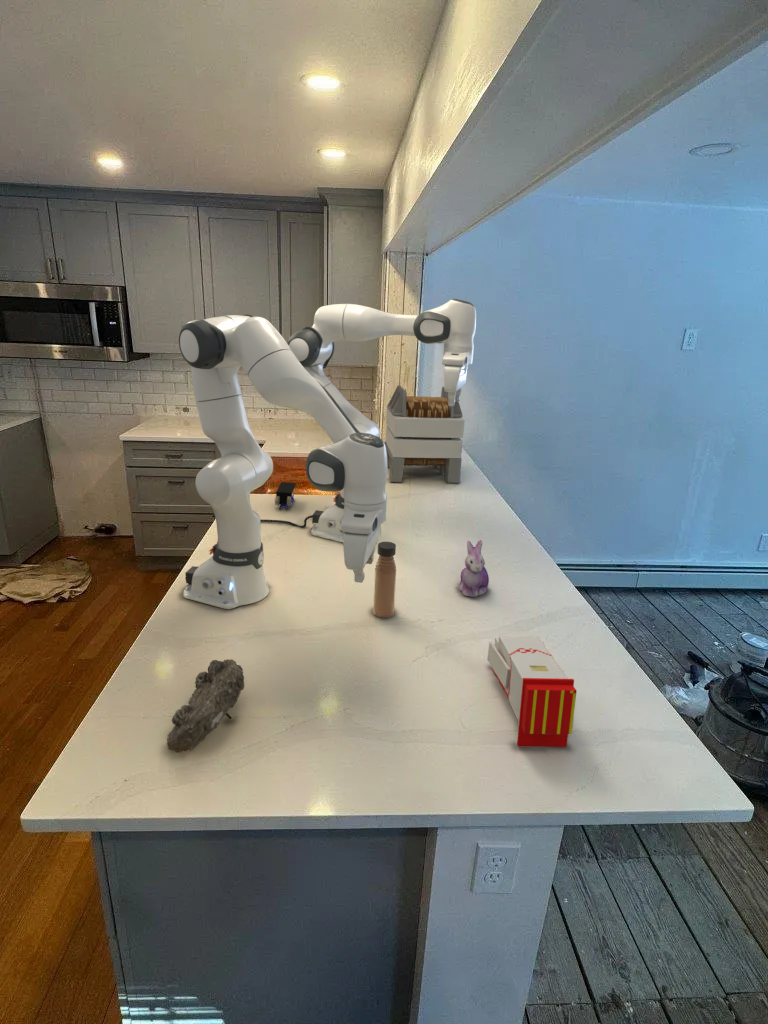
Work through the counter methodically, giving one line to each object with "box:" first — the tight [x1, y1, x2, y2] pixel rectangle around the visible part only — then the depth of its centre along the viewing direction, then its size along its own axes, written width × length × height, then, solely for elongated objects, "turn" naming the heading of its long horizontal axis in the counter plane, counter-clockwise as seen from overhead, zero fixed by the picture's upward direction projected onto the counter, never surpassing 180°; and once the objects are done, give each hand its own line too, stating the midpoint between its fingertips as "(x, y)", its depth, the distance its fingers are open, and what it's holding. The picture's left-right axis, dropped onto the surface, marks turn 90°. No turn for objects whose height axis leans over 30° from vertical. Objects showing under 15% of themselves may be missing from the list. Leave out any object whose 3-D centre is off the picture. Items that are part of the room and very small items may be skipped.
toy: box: [486, 635, 577, 748], centre depth 115 cm, size 12×13×30 cm
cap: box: [377, 541, 397, 557], centre depth 142 cm, size 4×4×2 cm
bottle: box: [372, 555, 397, 618], centre depth 145 cm, size 5×5×19 cm
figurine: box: [459, 539, 490, 598], centre depth 159 cm, size 9×10×15 cm
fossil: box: [166, 658, 245, 754], centre depth 106 cm, size 22×10×15 cm
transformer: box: [383, 384, 465, 484], centre depth 268 cm, size 34×33×41 cm
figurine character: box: [274, 481, 297, 510], centre depth 222 cm, size 7×8×15 cm
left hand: (364, 571), depth 123 cm, fingers open, 8 cm apart
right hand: (454, 403), depth 174 cm, fingers open, 8 cm apart
